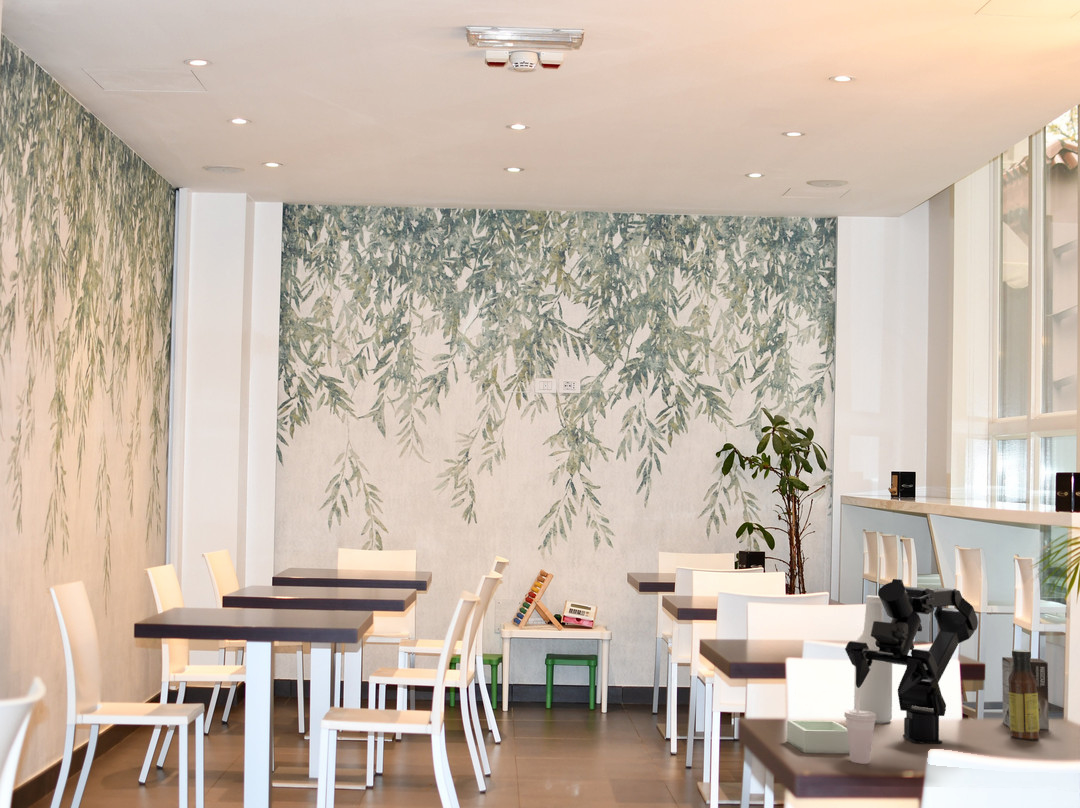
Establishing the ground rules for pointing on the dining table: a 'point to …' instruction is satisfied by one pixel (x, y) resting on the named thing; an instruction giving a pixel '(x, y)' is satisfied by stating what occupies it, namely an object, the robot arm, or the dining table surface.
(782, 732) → the dining table surface
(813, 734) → the bin
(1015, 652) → the sauce bottle
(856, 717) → the smoothie
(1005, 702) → the coffee box
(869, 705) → the alcohol
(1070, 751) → the dining table surface
